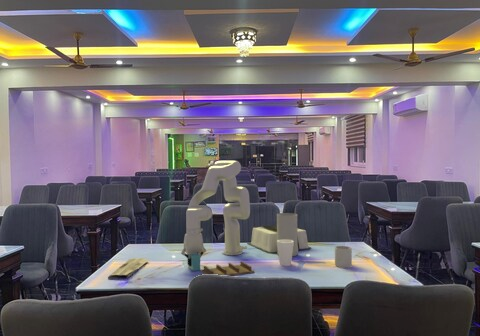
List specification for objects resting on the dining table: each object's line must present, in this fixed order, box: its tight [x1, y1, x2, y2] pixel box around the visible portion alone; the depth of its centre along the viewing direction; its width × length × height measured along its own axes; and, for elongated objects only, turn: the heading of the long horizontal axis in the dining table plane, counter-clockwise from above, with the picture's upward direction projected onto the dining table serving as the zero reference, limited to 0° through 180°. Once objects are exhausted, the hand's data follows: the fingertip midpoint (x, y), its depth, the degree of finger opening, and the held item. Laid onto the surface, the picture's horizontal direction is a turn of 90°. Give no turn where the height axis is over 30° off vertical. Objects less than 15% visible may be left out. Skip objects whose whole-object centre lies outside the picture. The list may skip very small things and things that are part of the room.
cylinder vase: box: [276, 212, 299, 258], centre depth 231 cm, size 12×12×25 cm
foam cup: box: [277, 240, 294, 267], centre depth 209 cm, size 10×9×13 cm
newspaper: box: [107, 257, 149, 280], centre depth 201 cm, size 35×12×4 cm, turn 0°
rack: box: [200, 260, 255, 277], centre depth 194 cm, size 24×14×3 cm, turn 114°
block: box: [187, 253, 201, 272], centre depth 202 cm, size 4×9×8 cm, turn 24°
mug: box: [334, 245, 353, 269], centre depth 206 cm, size 11×10×10 cm
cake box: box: [247, 224, 312, 254], centre depth 256 cm, size 35×33×12 cm
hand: (194, 264), depth 202 cm, fingers closed on block, 4 cm apart
